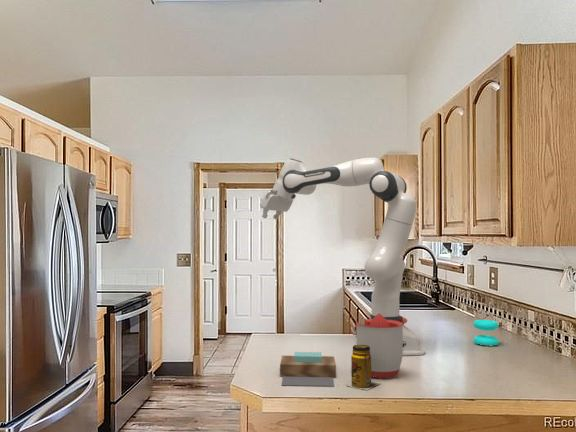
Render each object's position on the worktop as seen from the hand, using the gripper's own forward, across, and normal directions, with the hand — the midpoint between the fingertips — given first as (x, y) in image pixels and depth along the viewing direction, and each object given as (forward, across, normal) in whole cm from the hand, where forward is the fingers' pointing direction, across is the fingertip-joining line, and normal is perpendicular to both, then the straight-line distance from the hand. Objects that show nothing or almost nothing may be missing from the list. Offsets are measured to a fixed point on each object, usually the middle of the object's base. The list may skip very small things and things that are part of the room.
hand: (269, 218), depth 227 cm
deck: (+26, -44, -65) cm, 83 cm away
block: (+23, -44, -63) cm, 81 cm away
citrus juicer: (+17, -34, -83) cm, 91 cm away
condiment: (+16, -48, -84) cm, 98 cm away
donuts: (+6, +35, -104) cm, 109 cm away
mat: (+24, -54, -70) cm, 91 cm away
